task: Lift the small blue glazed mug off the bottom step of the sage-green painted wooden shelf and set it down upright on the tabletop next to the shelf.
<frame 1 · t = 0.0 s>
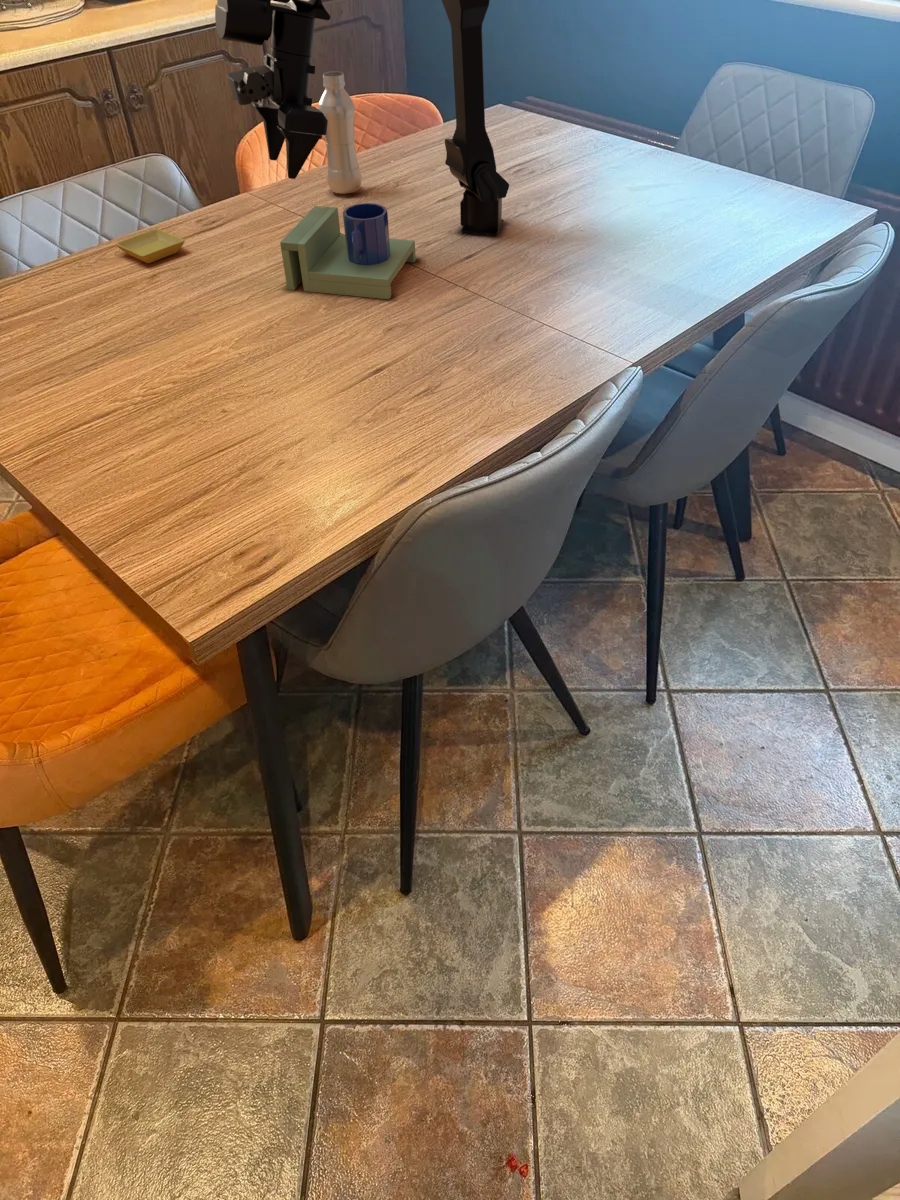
hand: (282, 169, 131), 15 cm above the table, tool pointing down, fingers open, 9 cm apart
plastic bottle: (345, 192, 166), on the table
shelf: (353, 274, 140), on the table
mug: (368, 256, 137), point 3 cm above the table, touching shelf
yellow shallow square dish: (153, 254, 147), on the table
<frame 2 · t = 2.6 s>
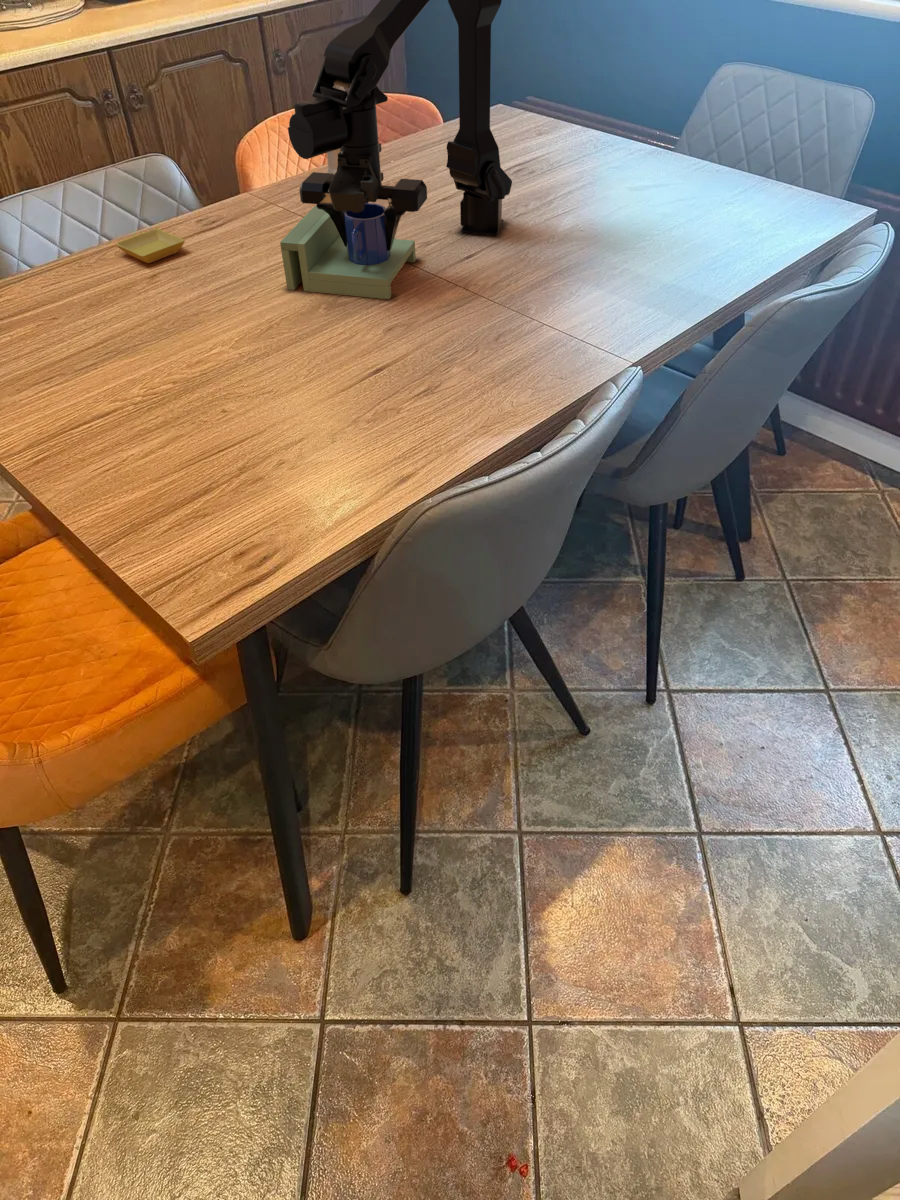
hand: (368, 247, 136), 5 cm above the table, tool pointing down, fingers closed on mug, 7 cm apart
mug: (369, 256, 137), point 3 cm above the table, touching gripper, shelf
everything else where it was.
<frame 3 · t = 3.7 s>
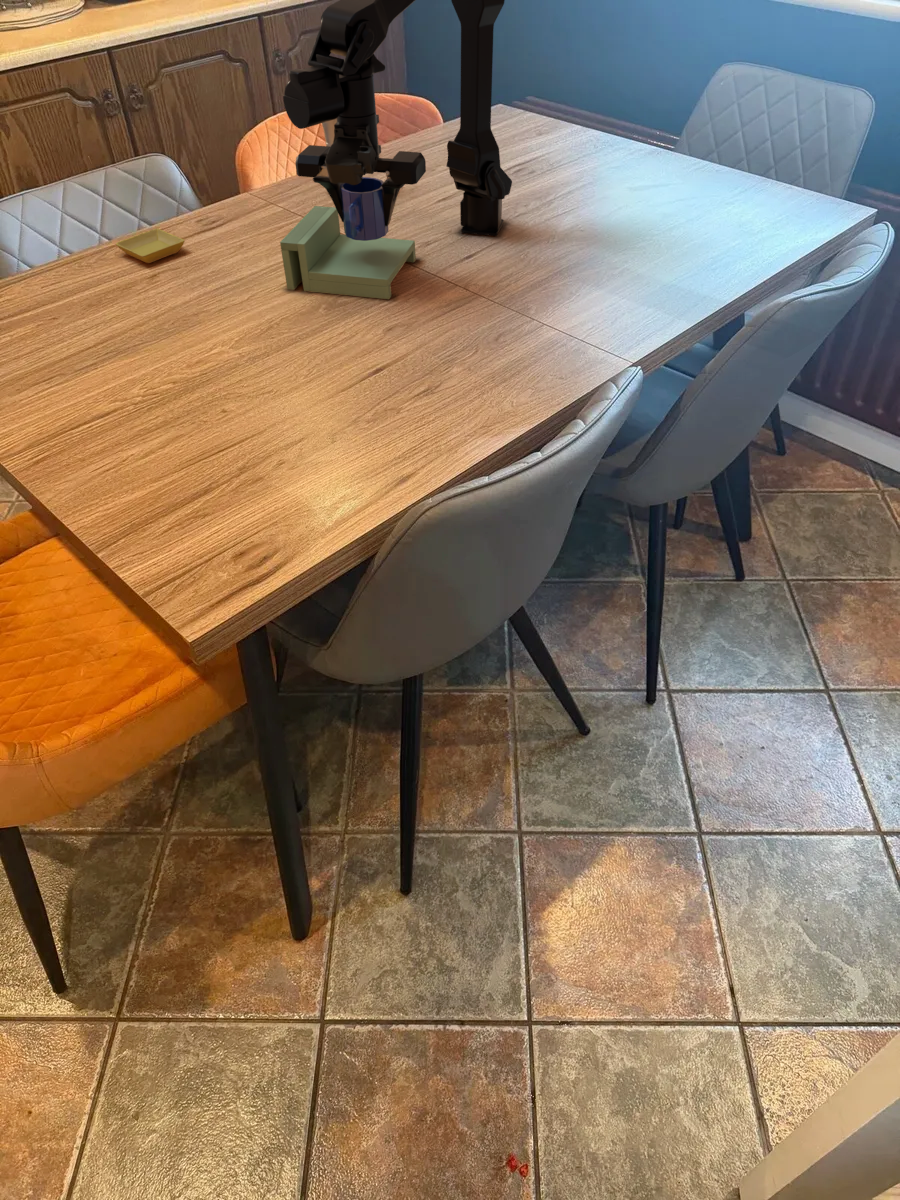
hand: (365, 223, 134), 8 cm above the table, tool pointing down, fingers closed on mug, 7 cm apart
mug: (366, 231, 134), point 7 cm above the table, touching gripper
everything else where it was.
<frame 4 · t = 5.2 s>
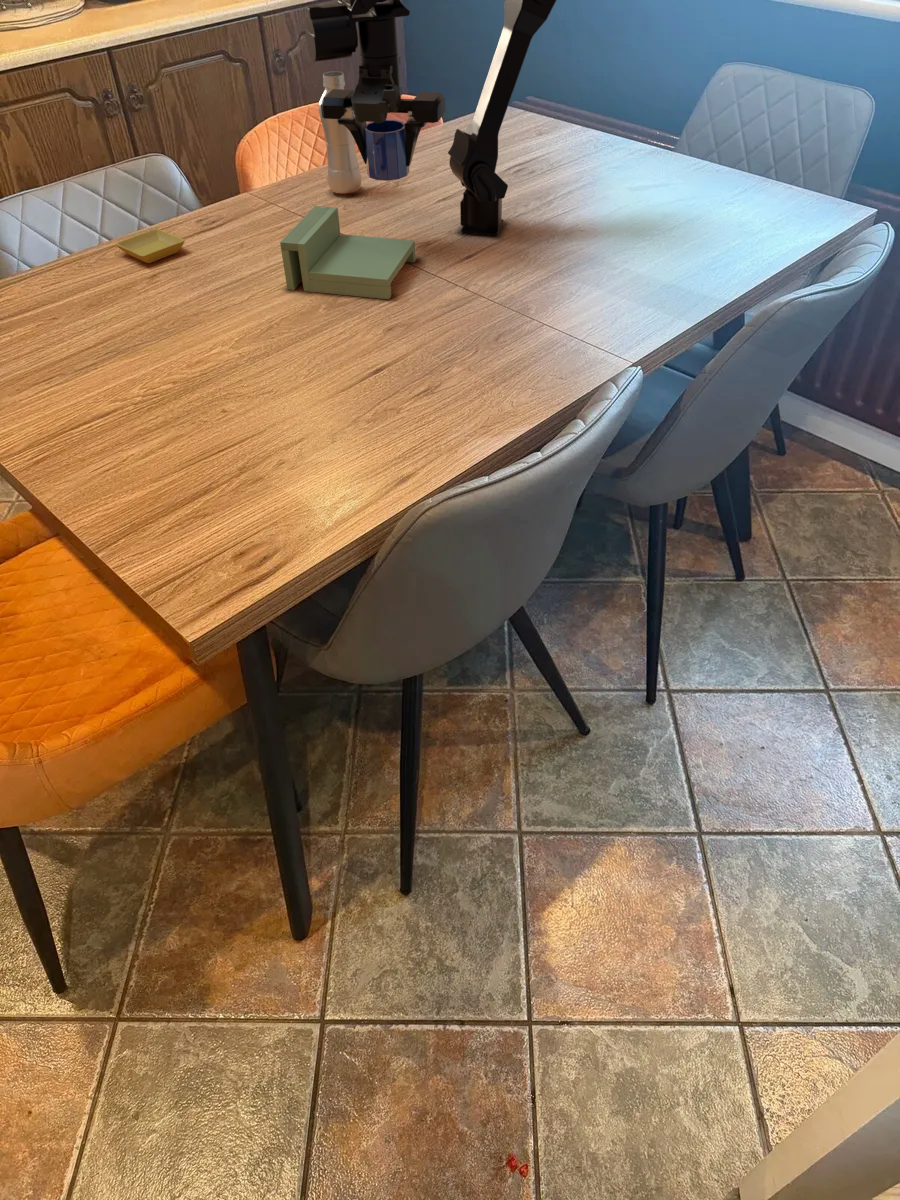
hand: (387, 164, 139), 13 cm above the table, tool pointing down, fingers closed on mug, 7 cm apart
mug: (388, 173, 140), point 11 cm above the table, touching gripper
everything else where it was.
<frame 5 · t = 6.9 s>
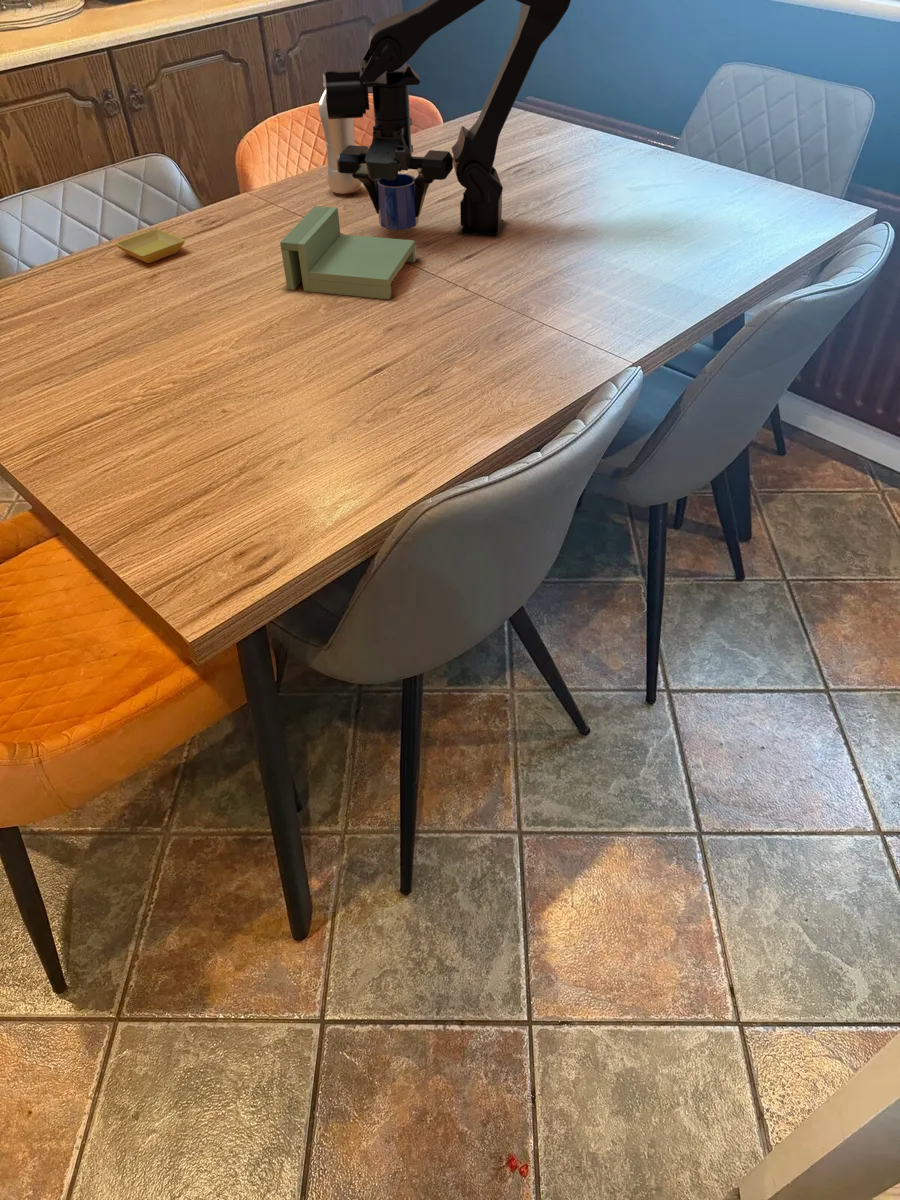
hand: (398, 214, 149), 3 cm above the table, tool pointing down, fingers closed on mug, 7 cm apart
mug: (398, 222, 150), point 2 cm above the table, touching gripper
everything else where it was.
when the fingers open (1 cm above the table, at t = 8.1 s): mug stays where it is, on the table.
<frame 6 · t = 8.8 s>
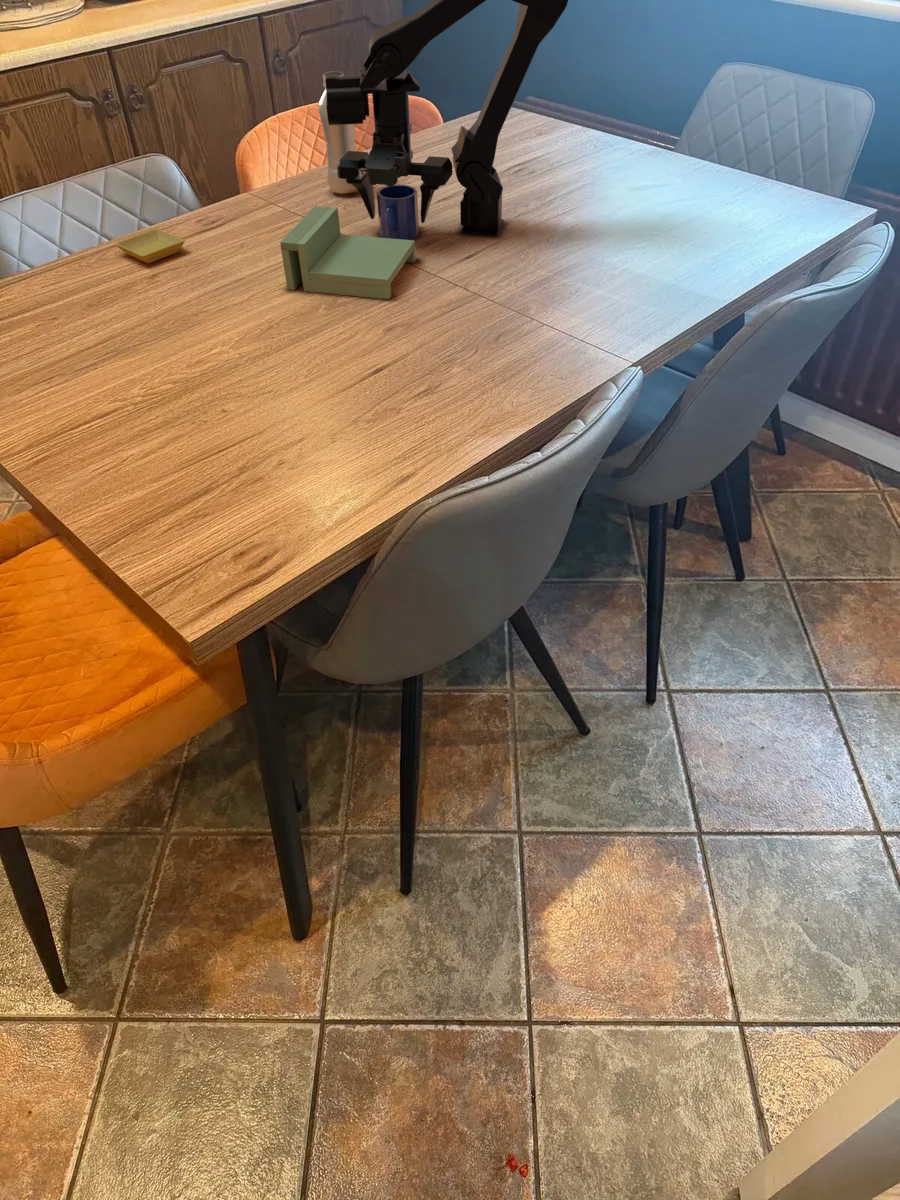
hand: (397, 220, 150), 2 cm above the table, tool pointing down, fingers open, 9 cm apart
mug: (399, 233, 151), on the table
everything else where it was.
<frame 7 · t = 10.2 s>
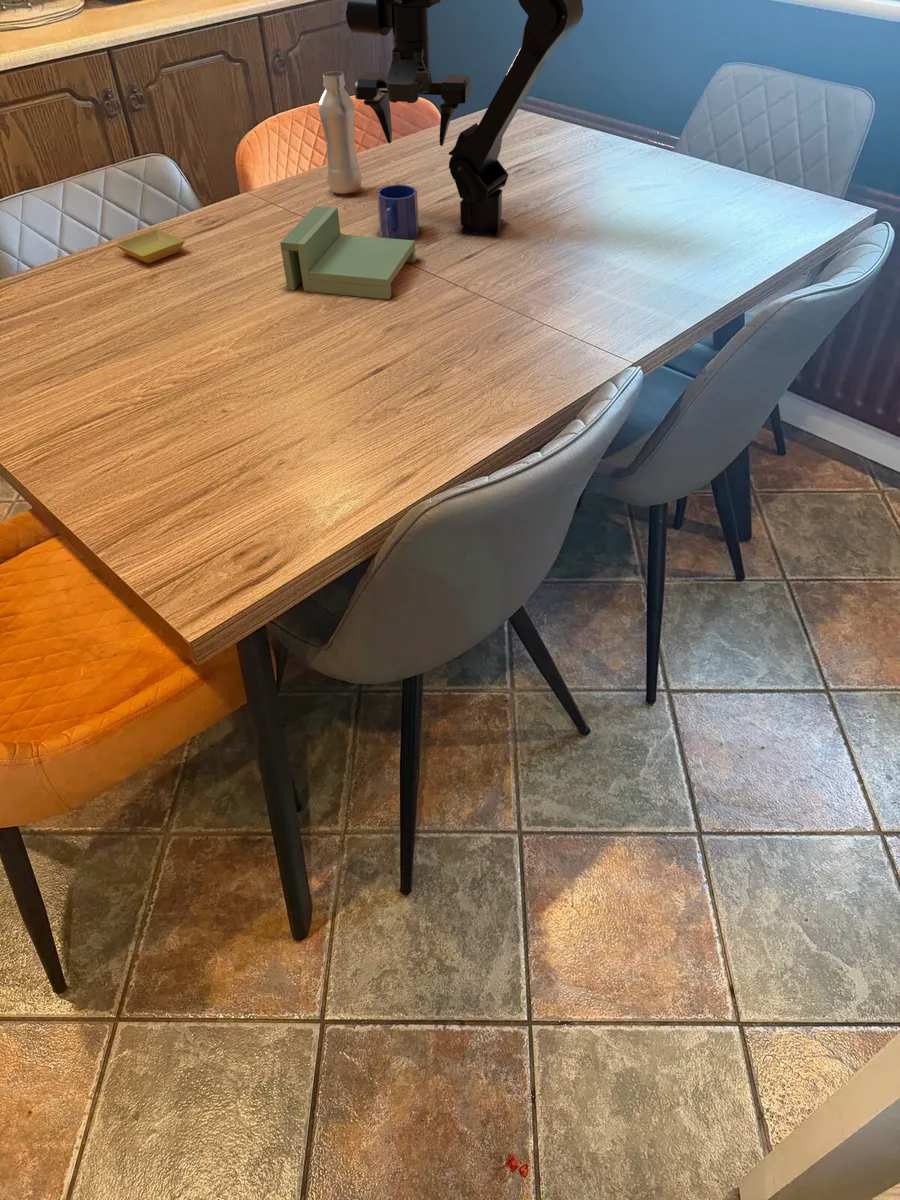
hand: (415, 144, 148), 12 cm above the table, tool pointing down, fingers open, 9 cm apart
nothing on the table moved.
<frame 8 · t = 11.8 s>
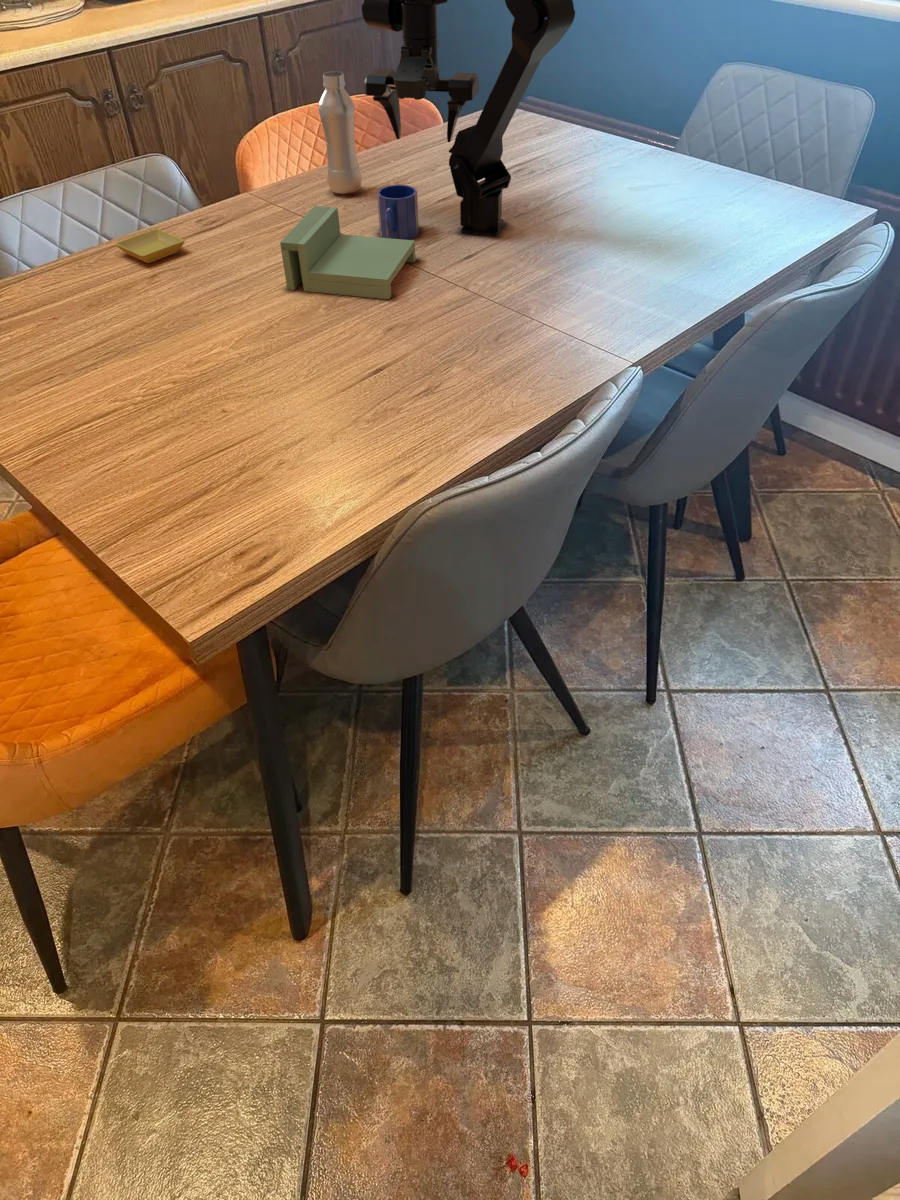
hand: (423, 140, 150), 12 cm above the table, tool pointing down, fingers open, 9 cm apart
nothing on the table moved.
at the end: mug inside the target area (0.1 cm from its centre), on the table; mug tilted 0°; the gripper is holding nothing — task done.
